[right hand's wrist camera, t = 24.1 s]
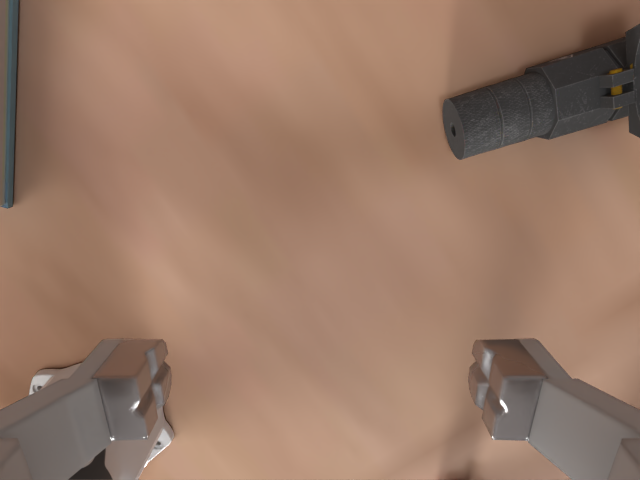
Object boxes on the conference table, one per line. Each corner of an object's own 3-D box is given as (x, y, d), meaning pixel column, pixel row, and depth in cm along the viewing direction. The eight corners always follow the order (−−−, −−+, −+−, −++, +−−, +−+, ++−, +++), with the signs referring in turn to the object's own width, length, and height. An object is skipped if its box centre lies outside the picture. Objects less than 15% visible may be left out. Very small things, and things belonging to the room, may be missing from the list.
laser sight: (433, 75, 38) (470, 71, 28) (683, -6, 35) (813, -39, 26) (452, 173, 41) (491, 199, 32) (682, 105, 39) (797, 111, 29)
